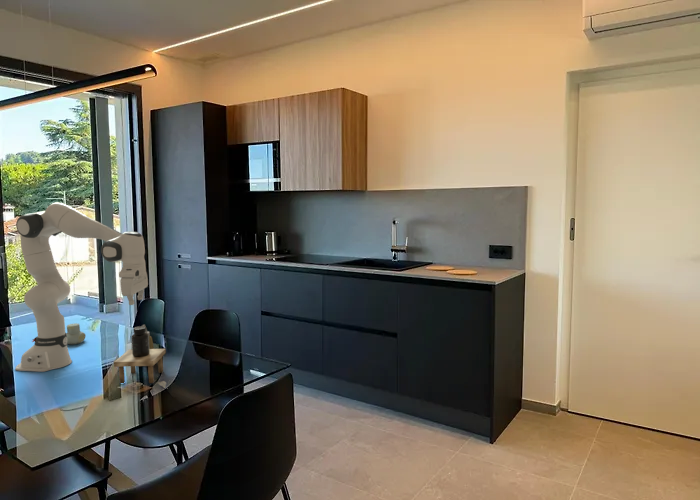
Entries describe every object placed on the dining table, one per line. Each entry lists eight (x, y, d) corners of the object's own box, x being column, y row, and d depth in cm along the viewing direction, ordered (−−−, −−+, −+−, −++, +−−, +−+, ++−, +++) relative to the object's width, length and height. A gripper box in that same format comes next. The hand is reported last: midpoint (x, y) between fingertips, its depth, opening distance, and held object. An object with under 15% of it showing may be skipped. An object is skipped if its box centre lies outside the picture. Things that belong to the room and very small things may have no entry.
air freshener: (76, 346, 258) (74, 327, 257) (60, 346, 258) (59, 327, 257) (87, 339, 269) (86, 322, 268) (72, 339, 269) (71, 322, 268)
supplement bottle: (145, 351, 219) (143, 324, 217) (152, 354, 214) (150, 327, 212) (129, 355, 214) (128, 327, 212) (136, 358, 209) (134, 331, 207)
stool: (115, 385, 206) (113, 362, 205) (130, 371, 222) (129, 349, 221) (154, 384, 207) (153, 361, 206) (166, 370, 223) (165, 348, 222)
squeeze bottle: (148, 365, 229) (146, 327, 226) (133, 364, 230) (130, 327, 228) (158, 359, 236) (156, 323, 234) (143, 358, 238) (141, 322, 236)
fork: (173, 405, 193) (173, 398, 193) (153, 384, 208) (153, 378, 208) (180, 403, 195) (180, 396, 194) (160, 382, 210) (160, 376, 209)
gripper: (136, 266, 220) (138, 296, 222) (116, 274, 200) (118, 307, 201) (150, 266, 220) (152, 296, 222) (132, 274, 200) (134, 307, 202)
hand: (136, 302), depth 212 cm, fingers open, 8 cm apart
